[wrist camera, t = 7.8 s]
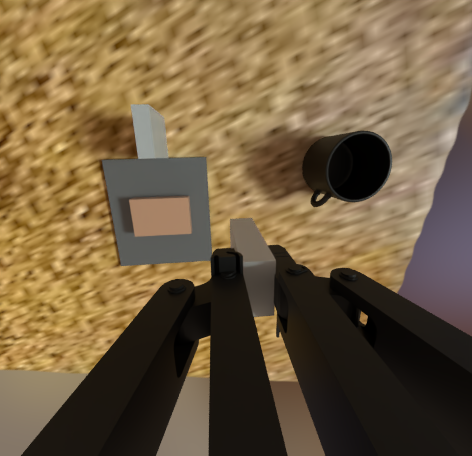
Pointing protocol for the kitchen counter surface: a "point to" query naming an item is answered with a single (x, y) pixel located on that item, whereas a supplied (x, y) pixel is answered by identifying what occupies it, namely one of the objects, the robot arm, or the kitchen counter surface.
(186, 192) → the mat
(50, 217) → the kitchen counter surface
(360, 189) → the mug
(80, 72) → the kitchen counter surface
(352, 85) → the kitchen counter surface
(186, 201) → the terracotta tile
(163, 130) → the grey tile
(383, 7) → the kitchen counter surface
